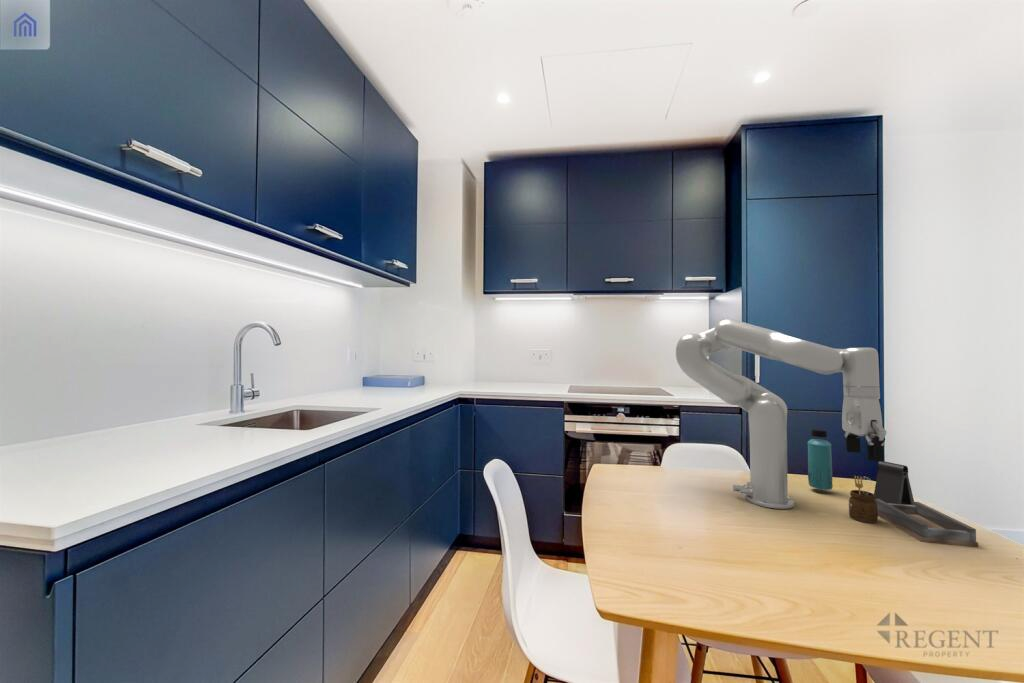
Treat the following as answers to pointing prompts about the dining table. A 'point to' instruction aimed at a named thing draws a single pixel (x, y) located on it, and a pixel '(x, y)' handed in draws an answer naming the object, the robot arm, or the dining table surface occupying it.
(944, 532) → the gray framed rectangular tray
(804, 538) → the dining table surface
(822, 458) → the beverage bottle
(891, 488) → the phone stand
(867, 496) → the utensil holder
